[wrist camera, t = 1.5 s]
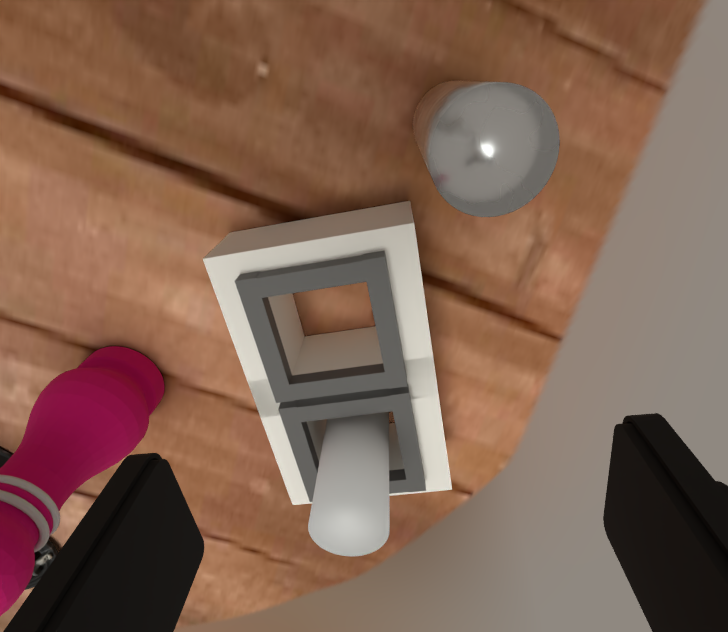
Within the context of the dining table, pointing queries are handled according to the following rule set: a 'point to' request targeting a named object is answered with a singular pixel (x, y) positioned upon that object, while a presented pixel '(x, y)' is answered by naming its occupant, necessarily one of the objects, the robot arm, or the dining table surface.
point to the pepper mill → (70, 451)
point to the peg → (486, 144)
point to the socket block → (338, 367)
